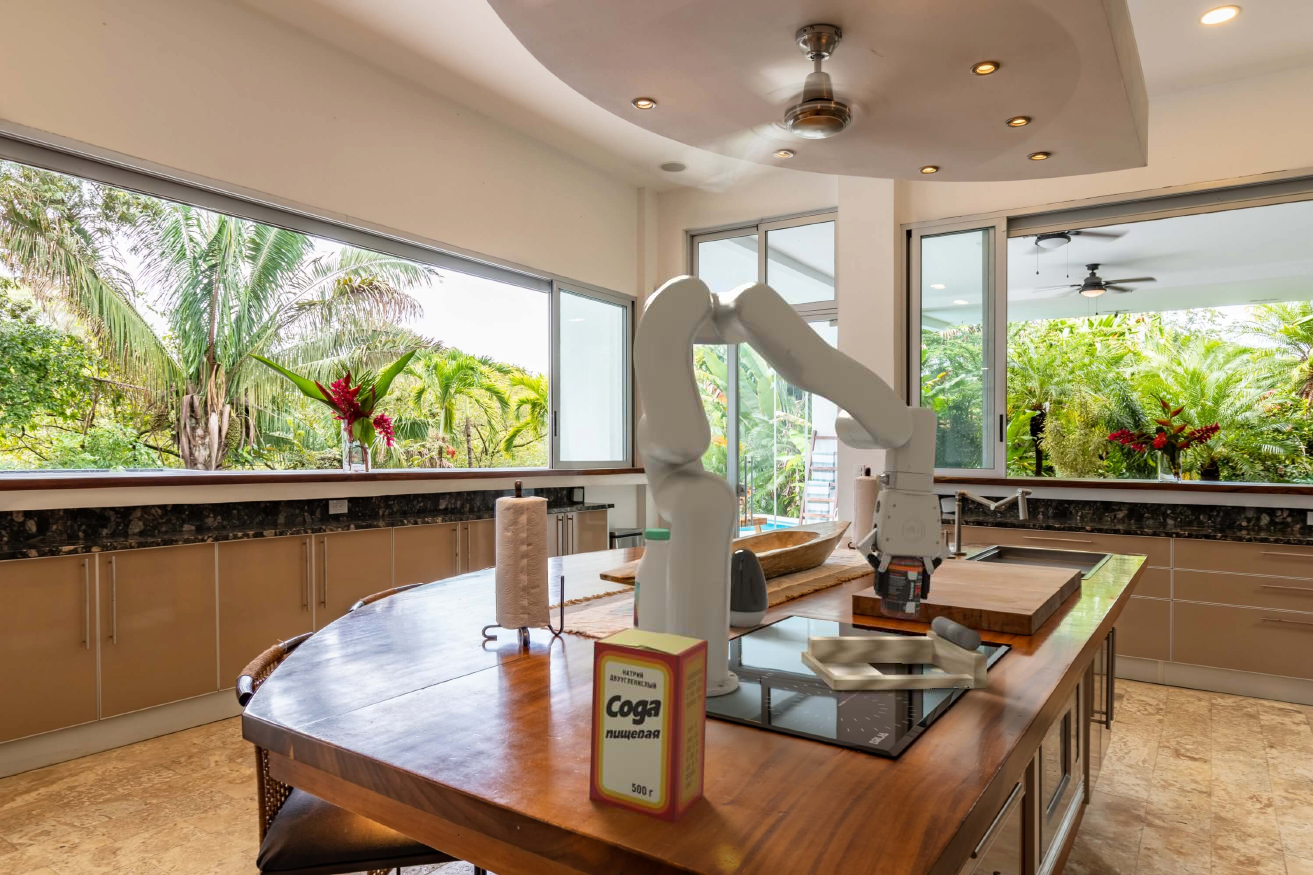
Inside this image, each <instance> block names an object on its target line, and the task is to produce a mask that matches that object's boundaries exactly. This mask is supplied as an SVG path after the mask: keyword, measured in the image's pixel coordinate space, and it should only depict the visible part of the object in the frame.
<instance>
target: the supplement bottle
mask: <svg viewBox="0 0 1313 875" xmlns="http://www.w3.org/2000/svg"><path fill="white" fill-rule="evenodd" d="M922 566H923V565H922V562H921V561H920V560H919V559H918V557H908V556H893V555H892V557H891V559H890V561H889V564H888V566H887V568H886V572H888V573H889V582H888V596H887V597H886V598H882V597H880V612H881V614H883V615H884V616H887V617H890V618H895V619H896V618H897V619H905V620H915V619H917V618H919V617H920V612H921V600H922V599H921V584H922Z"/></svg>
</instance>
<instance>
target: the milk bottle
mask: <svg viewBox="0 0 1313 875" xmlns="http://www.w3.org/2000/svg"><path fill="white" fill-rule="evenodd" d="M670 534H671V530H669V529H667V528H646V529H645V531H644V542H645V547H644V550H643V554H642V556H641V559H640V561H638V562H639V563H638V565H637V568H636V572H635V577H634V578H635V579H634V593H633V594H634V597H633V599H634V600H633V624H632V625H633V627H632V629H635V630H642V631H648V632H654V633H661V634H664V633H665V621H666V587H667V555H668V546H669V540H670Z"/></svg>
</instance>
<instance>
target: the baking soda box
mask: <svg viewBox="0 0 1313 875" xmlns="http://www.w3.org/2000/svg"><path fill="white" fill-rule="evenodd" d="M707 654H708V641H705V640H700V639H694V638H689V637H683V636H678V635H672V634H667V633H664V634H661V633H654V632H648V631H642V630H635V629H633V628H627V627H626V628H624V629H621V630H618V631H616V632H613V633H611V634H608V635H606V636H603V637H601V638H598V639H597V640H593V665H592V666H593V669H592V671H593V672H592V695H591V696H592V699H591V700H592V701H591V704H592V705H591V729H590V730H591V731H590V732H591V733H590V734H591V735H590V760H589V761H590V765H589V766H590V768H589V793H588V796H589V797H588V799H589V800H593V801H596V802H598V803H603V804H606V805H610V806H612V807H616V808H620V809H624V810H628V811H630V812H635V813H637V814H641V815H644V816H649V817H652V818H654V819H659V820H662V821H666V822H669V823H672V824H676V823H677V822H678V821H679V820H681V818H682V817H683V816H684V815H685V814H686V813H688V812H689V810H691V809H692V808H693V807H694V806H695V804H696V803H698V802H699V801H700V800H701V799H702V798H703V796H704V789H705V788H704V786H705V759H706V758H705V752H706V751H705V750H706V724H707V723H706V720H707V719H706V717H707V696H706V689H707Z"/></svg>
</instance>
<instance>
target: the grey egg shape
mask: <svg viewBox="0 0 1313 875" xmlns="http://www.w3.org/2000/svg"><path fill="white" fill-rule="evenodd" d="M768 594H769V592H768V587H767V582H766V577H765V574H764V570H763V568H762V564H761V562H760V560H759V557H758V556H757V555H756V553H755V552H754V551H753V550H751V549H748V548H745V547H743V548H741V547H740V548H738V549H736V550H734V551H732V556H731V590H730V625H729V626H732V627H736V628H745V629H746V628H753V627H756V626H757V625H759V624H760V623H761V622H762V621H763V620H764V618H765V616H766V613H767V610H768V609H769V595H768Z"/></svg>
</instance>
